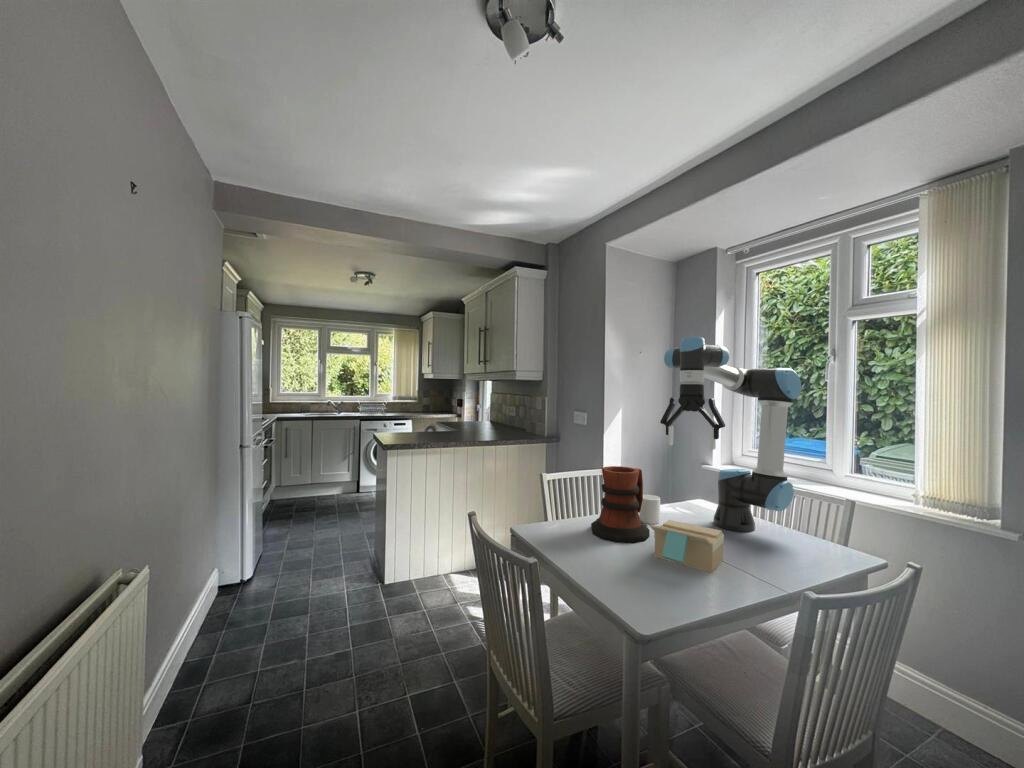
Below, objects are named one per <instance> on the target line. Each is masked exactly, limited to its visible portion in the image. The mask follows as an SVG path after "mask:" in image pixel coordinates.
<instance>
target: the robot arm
mask: <svg viewBox="0 0 1024 768" xmlns="http://www.w3.org/2000/svg"><path fill="white" fill-rule="evenodd" d="M679 344H680V347H674V348H669V349H667V350H666V351H665V353H664V357H663V360H664V361H663V362H664V364H665V365H666V367H668V368H669V369H675V370H676V369H679V382H680V385H679V397H678V398H676V397H675V396H674V397H670V398H669V404H668V406H667V407H666V410H665V412H664V414H663V415H662V418H661V419H660V421H659V423H660V424H663V425H664V426H665V435H666V436H668V438H667V439H668V442H667V443H668V444H667V445H668V446H673V445H674V432H675V431H674V427H675V426H674V425H673V424H674V422H675V421H676V420H677V419H678V418H679V417H680V416H681V415H682V413H684V412H694V413H695V412H696V413H697V412H698V413H700V414H701V415H702V416H703V418H705V419H704V420H706V421H707V422H708V423H709V425H710V426H711V427H712V428H711V429H710V450H716V443H717V441H716V440H719V438H720V429H722V428H725V427H726V424H725V421H724V420H723V418H722V416H721V413H720V412H719V410H718V408H717V407H716V401H715V398H713V397H712V398H706V399H705V385H704V384H703V383H705V379H707V380H709V381H713V382H715V383H717V384H720V385H722V386H723V387H724V389H726V390H728V391H730V392H733V393H736V394H739V395H742V396H744V397H745V396H746V397H750V398H757V403H758V404H759V405H760V406H761V412H760V424H759V437H758V438H759V440H758V452H757V464H756V467H755V468H754V469H753V470H752V471H751V470H750V469H746V468H725V469H721V470H720V471H719V472H718V479H717V481H718V482H717V484H718V485H717V487H718V489H717V492H718V495H717V496H718V498H717V502H718V503H717V504H718V505H717V507H716V510H715V512H714V515H713V524H714V525H715V526H716V527H719V528H721V529H724V530H728V531H734V532H742V533H743V532H752V531H753V532H754V530H756V522H755V519H754V515H753V514H752V511H751V506H753V507H754V506H755V507H758V508H762V509H766V510H767V511H775V512H784V511H785V510H786V509H788V508H789V506H790V505H791V504H792V501H793V499H794V496H795V495H794V493H795V489H794V486H793V484H792V483H791V482H790V481H788V475H787V474H786V472H784V467H785V466H784V465H785V454H786V453H785V451H786V440H787V439H786V435H787V426H788V425H787V423H788V409H789V408H790V407H791V406H793V404H794V400H796V399H798V398H799V397H800V396H801V393H802V381H801V378H800V377H799V374H798V373H797V372H796V370H794V369H792V368H787V367H776V368H775V367H772V368H771V367H769V368H767V367H766V368H739V367H736V366H733V367H731V366H728V365H727V364H728V363H729V359H730V352H729V350H728V349H727V347H725V346H722V345H719V344H706V342H705V338H704V337H702V336H688V337H682V338H681V340H680V343H679ZM677 404H679V405H680V406H679V407H678V408H677V410H676V411H675V412H674V413H673V414H671V413H672V412H673V410H674V408H675V407H676V405H677ZM705 404H706V405H707V406H709V409H710V411H711V413H712V415H713V417H714V418H713V417H712V416H711V415H710V414H709V412H708V411H707V409H706V408H705V407H704V405H705ZM670 416H671V417H670Z"/></svg>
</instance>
